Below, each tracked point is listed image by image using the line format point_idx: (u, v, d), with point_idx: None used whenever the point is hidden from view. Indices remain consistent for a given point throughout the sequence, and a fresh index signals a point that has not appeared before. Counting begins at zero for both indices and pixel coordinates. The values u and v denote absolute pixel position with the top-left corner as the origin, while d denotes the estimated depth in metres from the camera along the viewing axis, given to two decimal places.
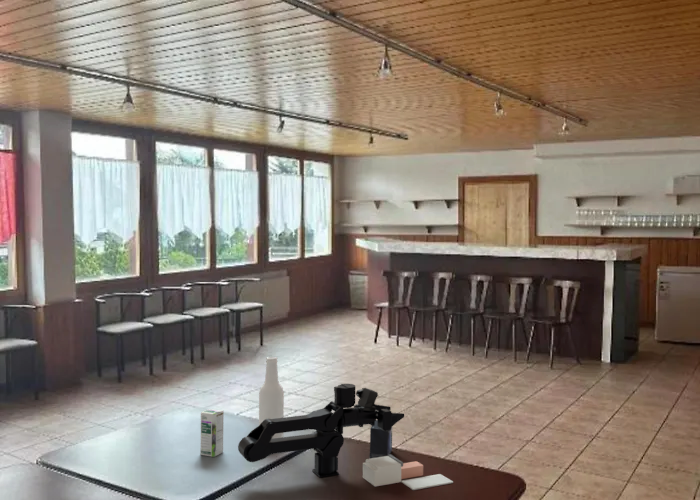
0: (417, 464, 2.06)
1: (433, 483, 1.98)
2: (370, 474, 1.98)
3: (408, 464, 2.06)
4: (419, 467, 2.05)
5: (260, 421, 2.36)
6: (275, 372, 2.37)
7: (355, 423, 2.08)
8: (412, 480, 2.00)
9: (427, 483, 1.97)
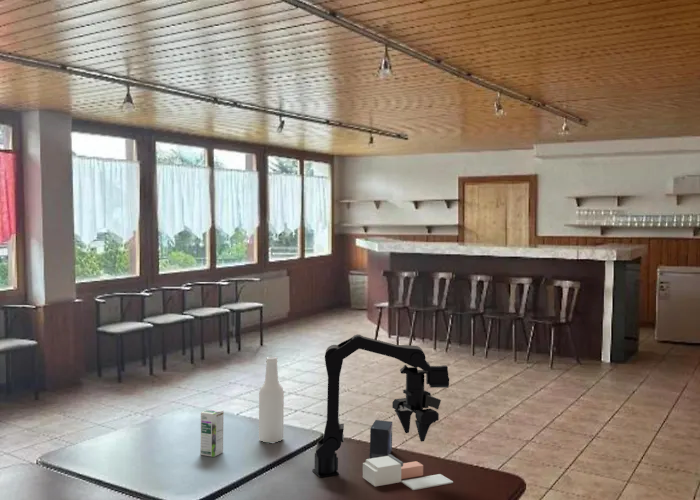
0: (417, 464, 2.06)
1: (433, 483, 1.98)
2: (370, 474, 1.98)
3: (408, 464, 2.06)
4: (419, 467, 2.05)
5: (260, 421, 2.36)
6: (275, 372, 2.37)
7: (411, 386, 2.03)
8: (412, 480, 2.00)
9: (427, 483, 1.97)
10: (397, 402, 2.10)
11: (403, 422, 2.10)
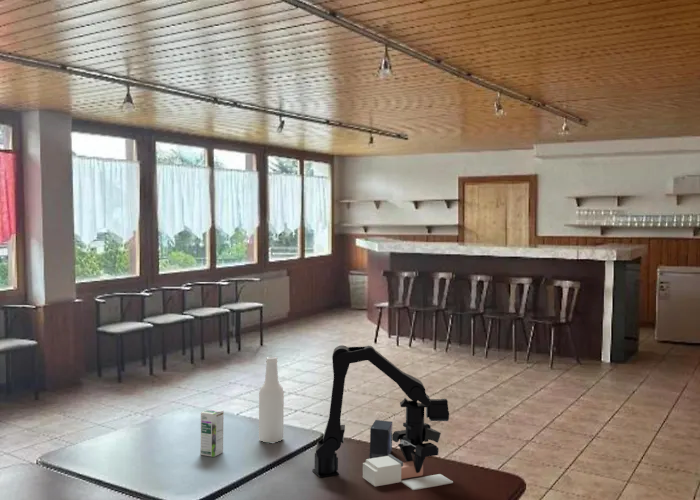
0: None
1: (433, 483, 1.98)
2: (370, 474, 1.98)
3: (408, 463, 2.06)
4: None
5: (260, 421, 2.36)
6: (275, 372, 2.37)
7: (410, 420, 2.04)
8: (412, 480, 2.00)
9: (427, 483, 1.97)
10: (397, 435, 2.10)
11: (407, 457, 2.08)
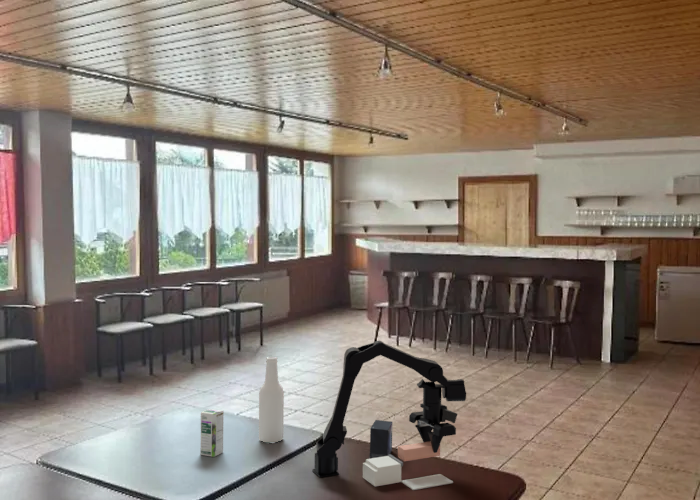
0: None
1: (433, 483, 1.98)
2: (370, 474, 1.98)
3: (425, 443, 2.08)
4: None
5: (260, 421, 2.36)
6: (275, 372, 2.37)
7: (429, 401, 2.06)
8: (412, 480, 2.00)
9: (427, 483, 1.97)
10: (414, 416, 2.13)
11: (424, 438, 2.10)
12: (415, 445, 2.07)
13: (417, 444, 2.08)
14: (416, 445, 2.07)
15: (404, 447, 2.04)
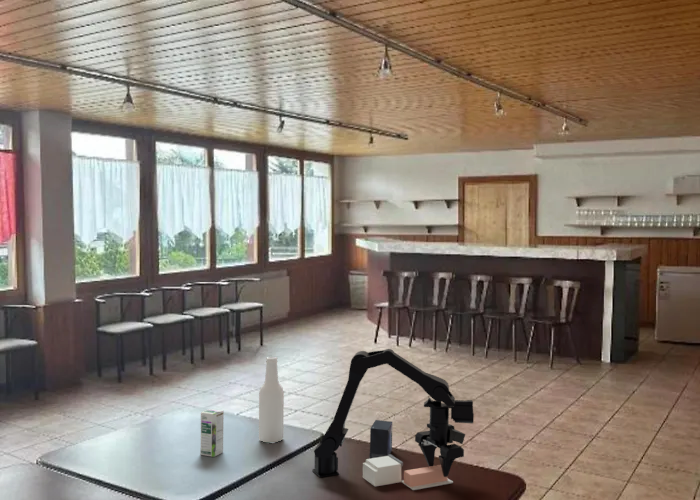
0: None
1: (433, 483, 1.98)
2: (370, 474, 1.98)
3: (432, 468, 2.01)
4: None
5: (260, 421, 2.36)
6: (275, 372, 2.37)
7: (434, 421, 1.99)
8: None
9: None
10: (420, 436, 2.05)
11: (427, 457, 2.04)
12: (422, 469, 1.99)
13: (423, 468, 2.00)
14: (423, 469, 1.99)
15: (410, 472, 1.97)
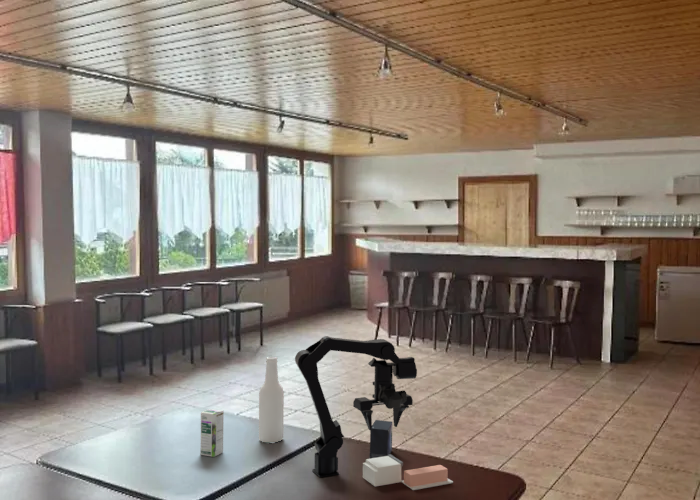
0: (442, 468, 2.01)
1: (433, 483, 1.98)
2: (370, 474, 1.98)
3: (432, 468, 2.01)
4: (443, 471, 2.00)
5: (260, 421, 2.36)
6: (275, 372, 2.37)
7: (381, 379, 2.07)
8: None
9: None
10: None
11: (393, 414, 2.13)
12: (422, 469, 1.99)
13: (423, 468, 2.00)
14: (423, 469, 1.99)
15: (410, 472, 1.97)
